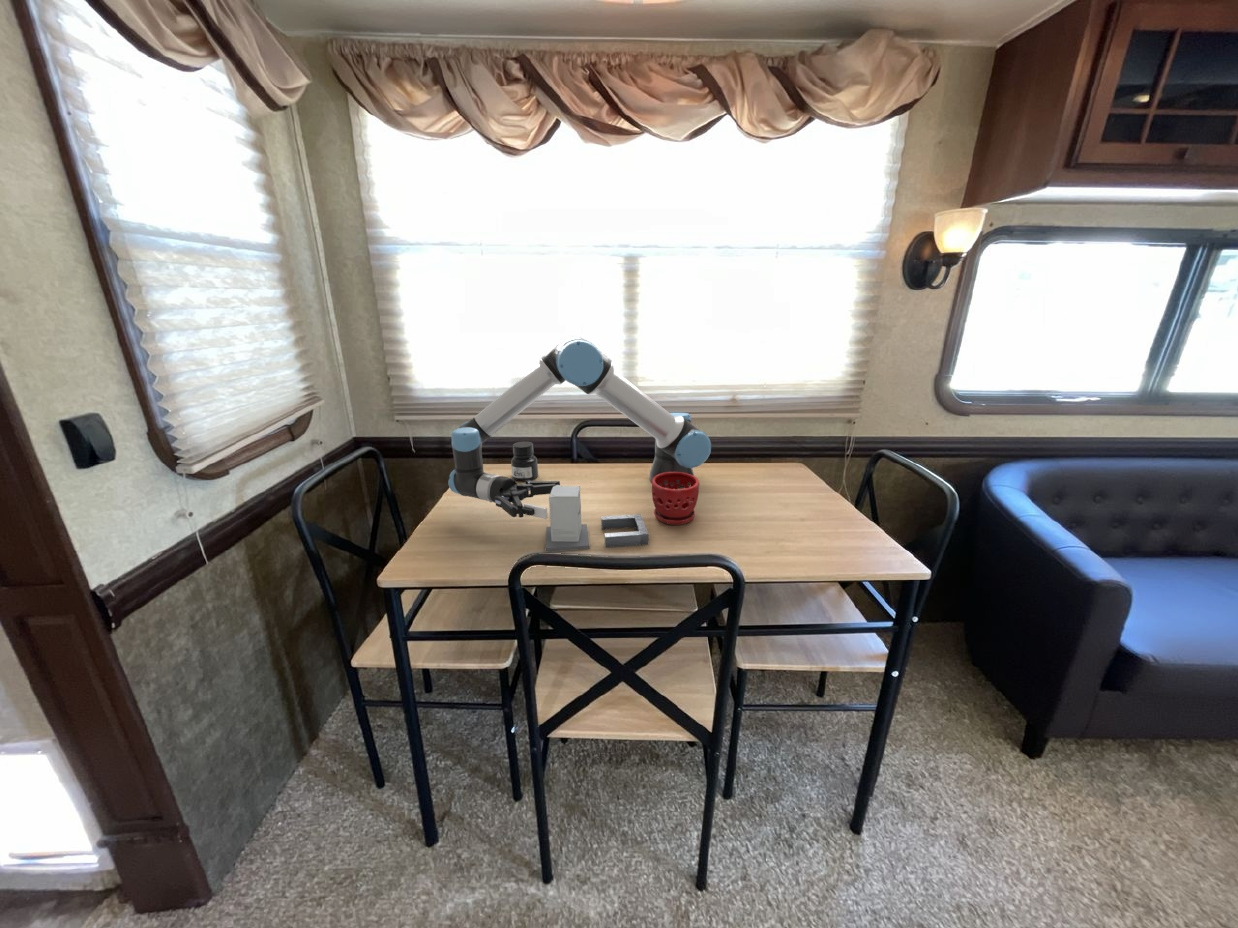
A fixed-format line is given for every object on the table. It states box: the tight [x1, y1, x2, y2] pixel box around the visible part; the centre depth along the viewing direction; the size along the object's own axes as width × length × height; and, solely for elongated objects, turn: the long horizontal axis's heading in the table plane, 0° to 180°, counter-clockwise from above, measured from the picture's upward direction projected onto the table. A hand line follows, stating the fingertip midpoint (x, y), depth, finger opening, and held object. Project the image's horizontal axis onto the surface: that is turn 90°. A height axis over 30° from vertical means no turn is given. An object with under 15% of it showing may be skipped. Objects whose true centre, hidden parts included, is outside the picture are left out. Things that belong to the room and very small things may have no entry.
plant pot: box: [651, 472, 700, 526], centre depth 138 cm, size 13×13×12 cm
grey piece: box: [600, 513, 649, 549], centre depth 130 cm, size 11×12×3 cm
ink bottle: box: [510, 441, 539, 482], centre depth 171 cm, size 10×9×12 cm
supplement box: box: [548, 485, 582, 542], centre depth 127 cm, size 7×7×13 cm
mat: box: [545, 523, 591, 553], centre depth 129 cm, size 11×12×1 cm
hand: (562, 503), depth 126 cm, fingers open, 13 cm apart
